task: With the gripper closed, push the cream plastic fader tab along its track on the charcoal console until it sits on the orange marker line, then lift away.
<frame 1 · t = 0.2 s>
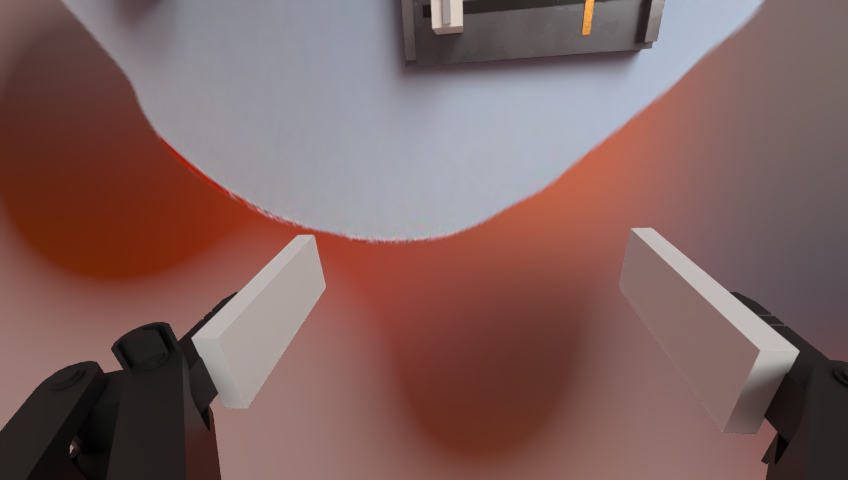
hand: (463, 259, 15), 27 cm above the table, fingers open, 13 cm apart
fader tab: (447, 3, 29), point 5 cm above the table, slide at -7.0 cm
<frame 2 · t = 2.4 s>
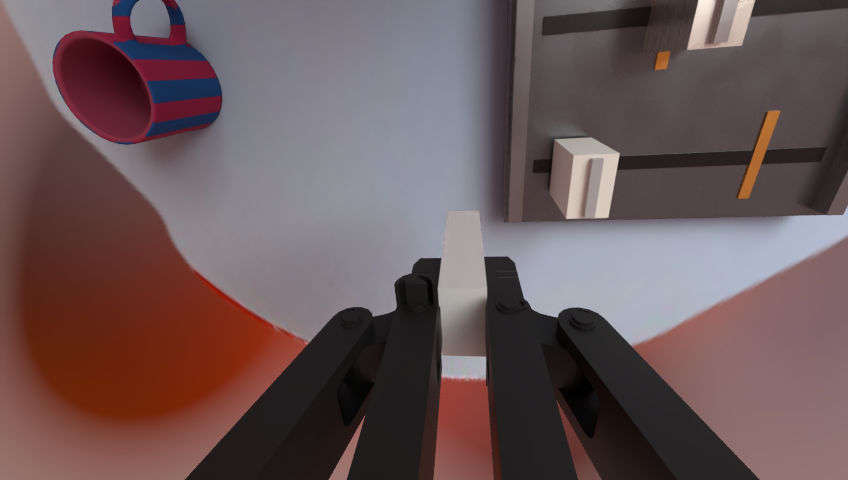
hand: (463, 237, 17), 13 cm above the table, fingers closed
console: (671, 90, 24), on the table
fader tab: (580, 176, 23), point 5 cm above the table, slide at -7.0 cm
mug: (190, 67, 27), on the table
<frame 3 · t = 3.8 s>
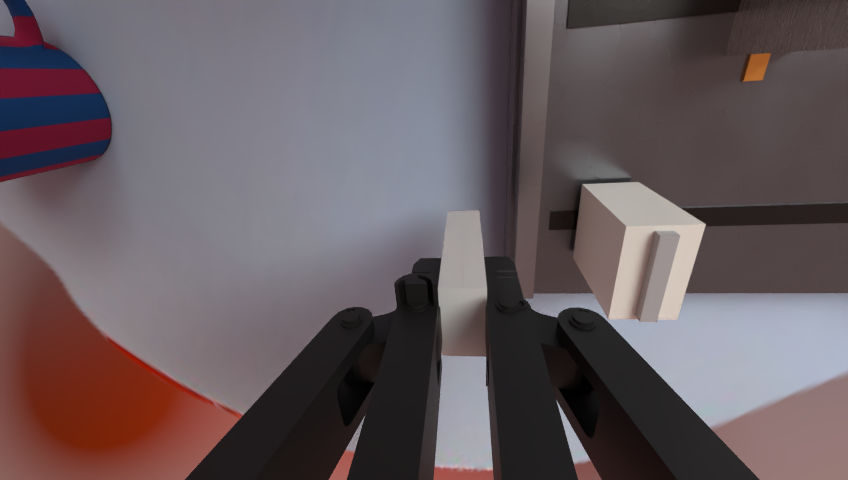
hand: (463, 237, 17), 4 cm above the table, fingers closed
console: (755, 111, 16), on the table
fader tab: (626, 246, 15), point 5 cm above the table, slide at -7.0 cm
mug: (63, 78, 19), on the table
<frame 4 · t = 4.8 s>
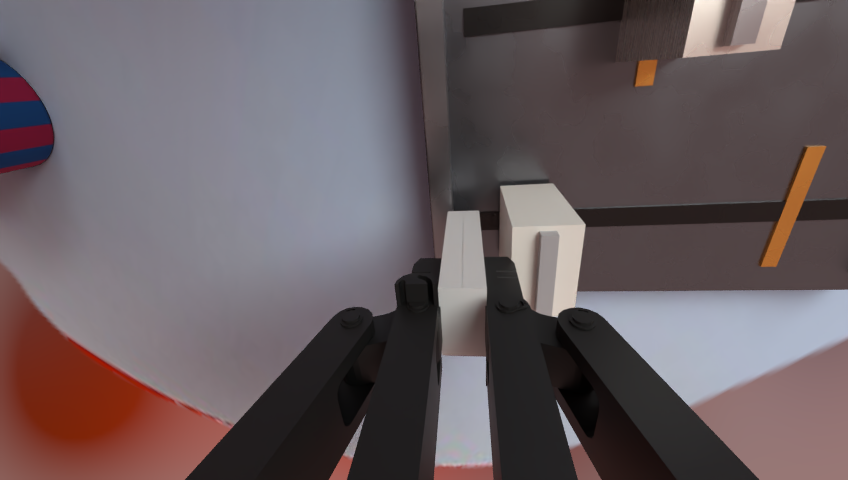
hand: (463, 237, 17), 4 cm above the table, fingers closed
console: (661, 114, 17), on the table
fader tab: (533, 246, 15), point 5 cm above the table, slide at -6.7 cm, touching gripper
mug: (5, 86, 20), on the table
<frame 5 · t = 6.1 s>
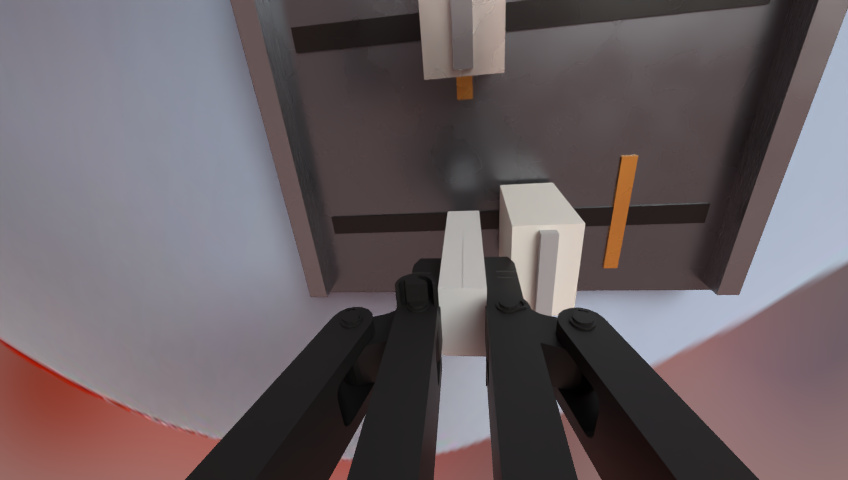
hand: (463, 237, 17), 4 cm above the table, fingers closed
console: (504, 124, 18), on the table
fader tab: (533, 245, 15), point 5 cm above the table, slide at 0.8 cm, touching gripper
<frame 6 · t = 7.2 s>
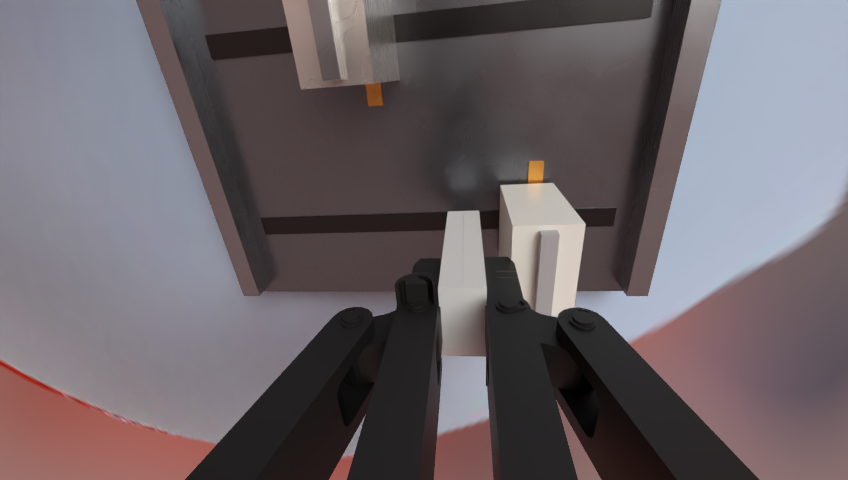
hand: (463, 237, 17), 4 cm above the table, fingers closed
console: (425, 129, 18), on the table
fader tab: (533, 245, 15), point 5 cm above the table, slide at 5.0 cm, touching gripper
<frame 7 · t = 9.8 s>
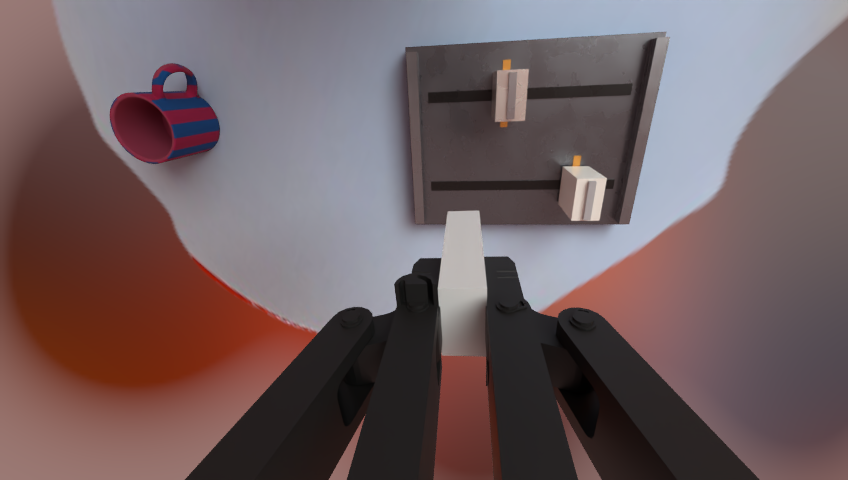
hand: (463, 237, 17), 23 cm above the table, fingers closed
console: (519, 138, 37), on the table
fader tab: (580, 192, 33), point 5 cm above the table, slide at 5.4 cm
mug: (198, 110, 39), on the table
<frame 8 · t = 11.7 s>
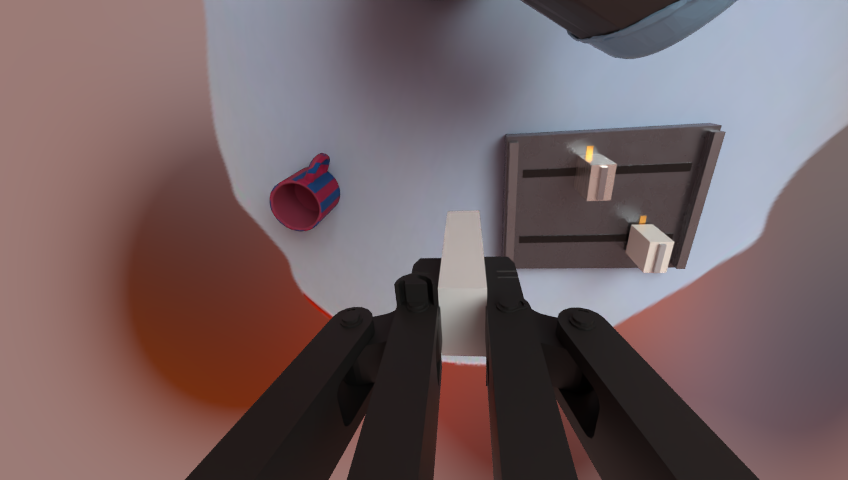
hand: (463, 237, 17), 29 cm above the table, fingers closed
console: (593, 200, 45), on the table
fader tab: (648, 248, 41), point 5 cm above the table, slide at 5.4 cm
mug: (323, 180, 48), on the table
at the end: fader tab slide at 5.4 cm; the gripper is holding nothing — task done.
